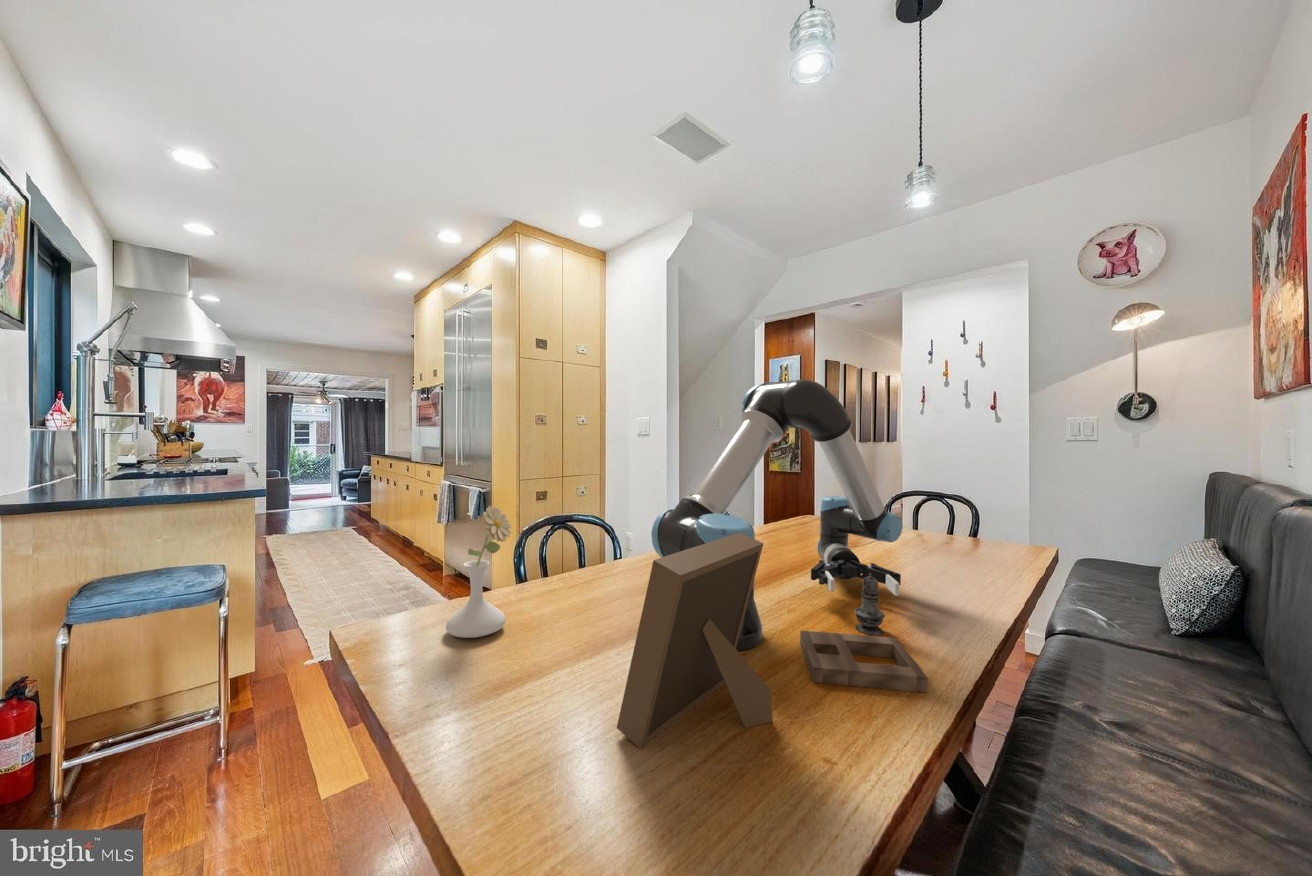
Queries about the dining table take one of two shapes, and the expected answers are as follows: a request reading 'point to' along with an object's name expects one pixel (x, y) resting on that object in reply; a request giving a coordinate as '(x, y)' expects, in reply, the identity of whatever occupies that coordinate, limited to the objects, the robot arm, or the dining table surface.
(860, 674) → the socket board
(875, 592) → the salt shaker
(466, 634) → the flower in vase
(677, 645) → the photo frame
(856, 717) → the dining table surface
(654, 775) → the dining table surface
